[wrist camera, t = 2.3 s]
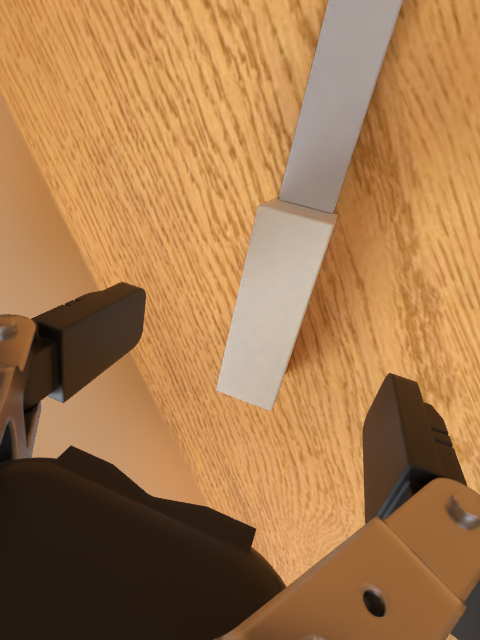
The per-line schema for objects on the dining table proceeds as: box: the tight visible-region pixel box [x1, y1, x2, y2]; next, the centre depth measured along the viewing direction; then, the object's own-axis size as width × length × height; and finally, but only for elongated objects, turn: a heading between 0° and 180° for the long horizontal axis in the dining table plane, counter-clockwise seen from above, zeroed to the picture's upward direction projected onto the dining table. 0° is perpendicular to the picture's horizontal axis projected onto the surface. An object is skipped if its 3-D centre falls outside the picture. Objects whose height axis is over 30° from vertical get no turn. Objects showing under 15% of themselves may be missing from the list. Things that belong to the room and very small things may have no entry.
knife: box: [216, 0, 403, 411], centre depth 12 cm, size 18×3×3 cm, turn 167°
